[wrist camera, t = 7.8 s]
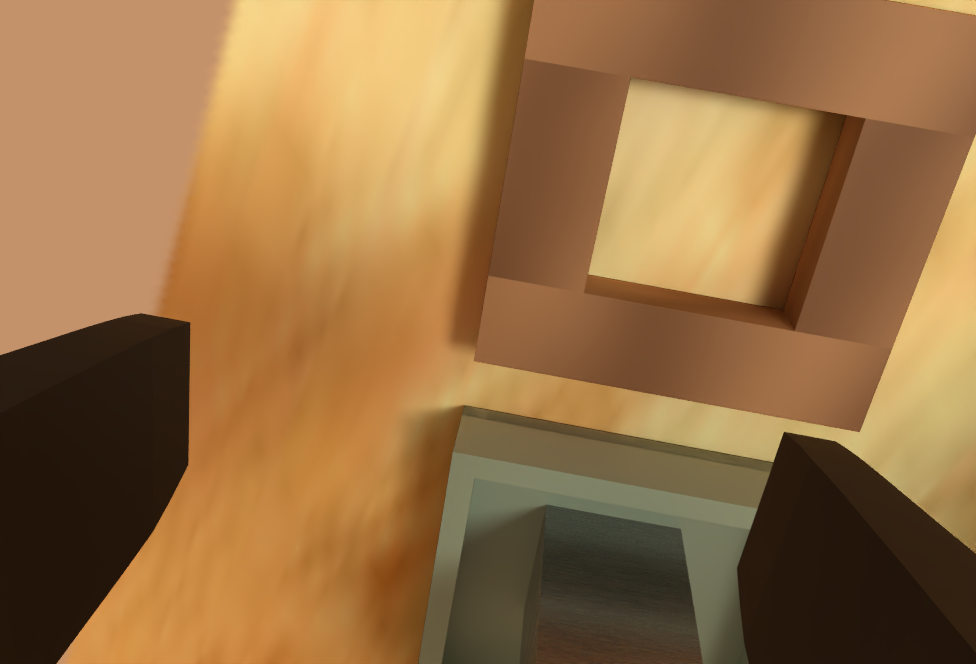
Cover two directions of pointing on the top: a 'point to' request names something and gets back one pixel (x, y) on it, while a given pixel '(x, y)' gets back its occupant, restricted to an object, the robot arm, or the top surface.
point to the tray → (585, 487)
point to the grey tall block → (608, 593)
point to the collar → (834, 230)
